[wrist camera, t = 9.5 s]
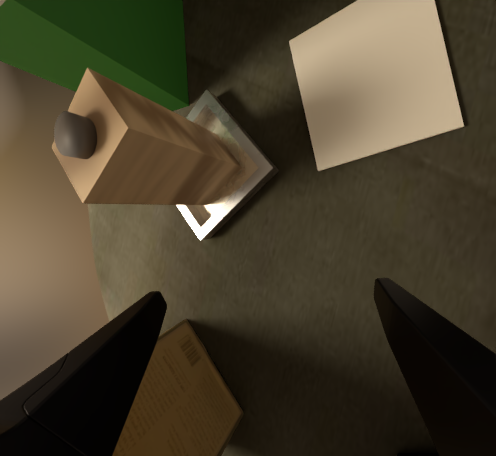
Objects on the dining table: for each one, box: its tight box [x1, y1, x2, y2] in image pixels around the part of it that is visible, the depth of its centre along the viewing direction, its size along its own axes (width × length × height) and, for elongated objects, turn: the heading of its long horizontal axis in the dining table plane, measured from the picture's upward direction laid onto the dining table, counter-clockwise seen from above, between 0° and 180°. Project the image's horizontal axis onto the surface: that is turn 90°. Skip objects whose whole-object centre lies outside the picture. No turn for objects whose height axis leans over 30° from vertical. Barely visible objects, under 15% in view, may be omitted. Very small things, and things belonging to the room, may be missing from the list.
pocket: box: [176, 89, 279, 241], centre depth 24 cm, size 11×11×2 cm
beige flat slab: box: [289, 0, 464, 171], centre depth 18 cm, size 12×10×1 cm
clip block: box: [52, 68, 243, 205], centre depth 19 cm, size 5×6×14 cm
